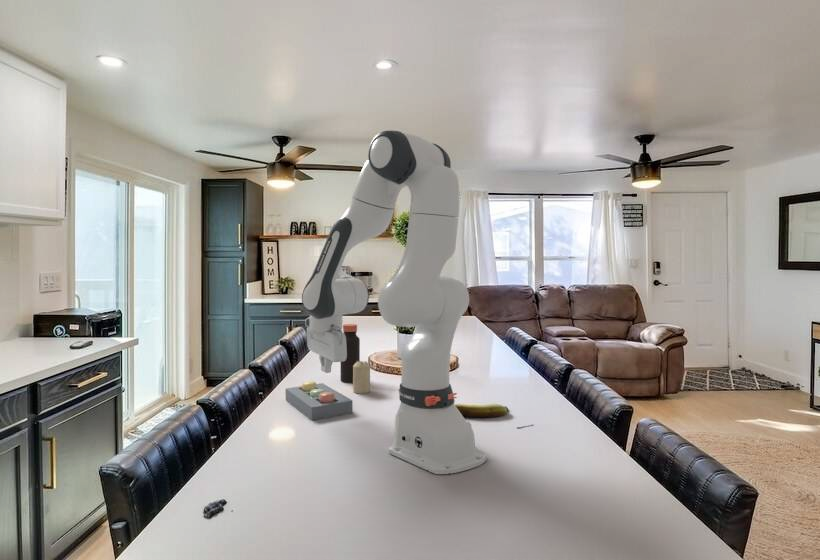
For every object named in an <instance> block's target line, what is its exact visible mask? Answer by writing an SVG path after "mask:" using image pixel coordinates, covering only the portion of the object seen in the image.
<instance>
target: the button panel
mask: <svg viewBox="0 0 820 560" xmlns="http://www.w3.org/2000/svg"><path fill="white" fill-rule="evenodd" d="M316 389H323V390H325V392H332V393H334V402H330V403H324V404H321V403H320V402H319V397H313V398H312V397H311V396H310V391H306V392H304V391H302V385H301V386H294V387H293V386H292V387H286V388H285V401H286V402H288V403H289V404H290V405H291V406H293V407H294V408H295V409H297V410H298V411H299V412H300V413H301V414H303V415H304V416H305V417H307V418H308V419H310V420H311V421H315V420H320V419H326V418H331V417H336V416H342V415H347V414H352V413H353V399H351V398H350V397H347V396H345V395H344V394H342V393H340V392H339V391H337V390H335V389H333V388H332V387H330V386H328V385H326V384H325V383H323V382H320V383H316Z"/></svg>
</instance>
